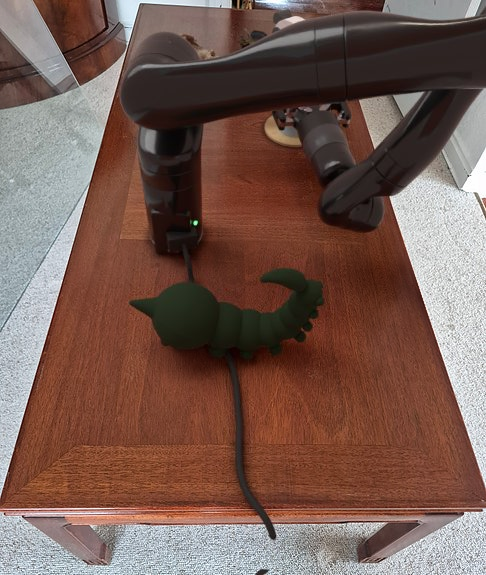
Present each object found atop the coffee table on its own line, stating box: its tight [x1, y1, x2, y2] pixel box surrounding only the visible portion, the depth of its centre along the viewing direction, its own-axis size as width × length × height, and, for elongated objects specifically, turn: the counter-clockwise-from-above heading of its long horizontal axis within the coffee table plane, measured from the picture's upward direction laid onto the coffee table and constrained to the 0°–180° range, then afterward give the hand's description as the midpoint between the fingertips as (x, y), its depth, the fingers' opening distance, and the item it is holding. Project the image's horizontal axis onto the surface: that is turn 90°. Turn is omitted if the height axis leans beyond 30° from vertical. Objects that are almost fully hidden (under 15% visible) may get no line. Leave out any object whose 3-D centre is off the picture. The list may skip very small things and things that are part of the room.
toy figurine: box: [128, 267, 326, 361], centre depth 62 cm, size 9×19×25 cm
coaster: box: [264, 115, 303, 148], centre depth 102 cm, size 12×12×1 cm
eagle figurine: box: [236, 28, 269, 50], centre depth 118 cm, size 8×7×9 cm
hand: (302, 92), depth 91 cm, fingers open, 8 cm apart
